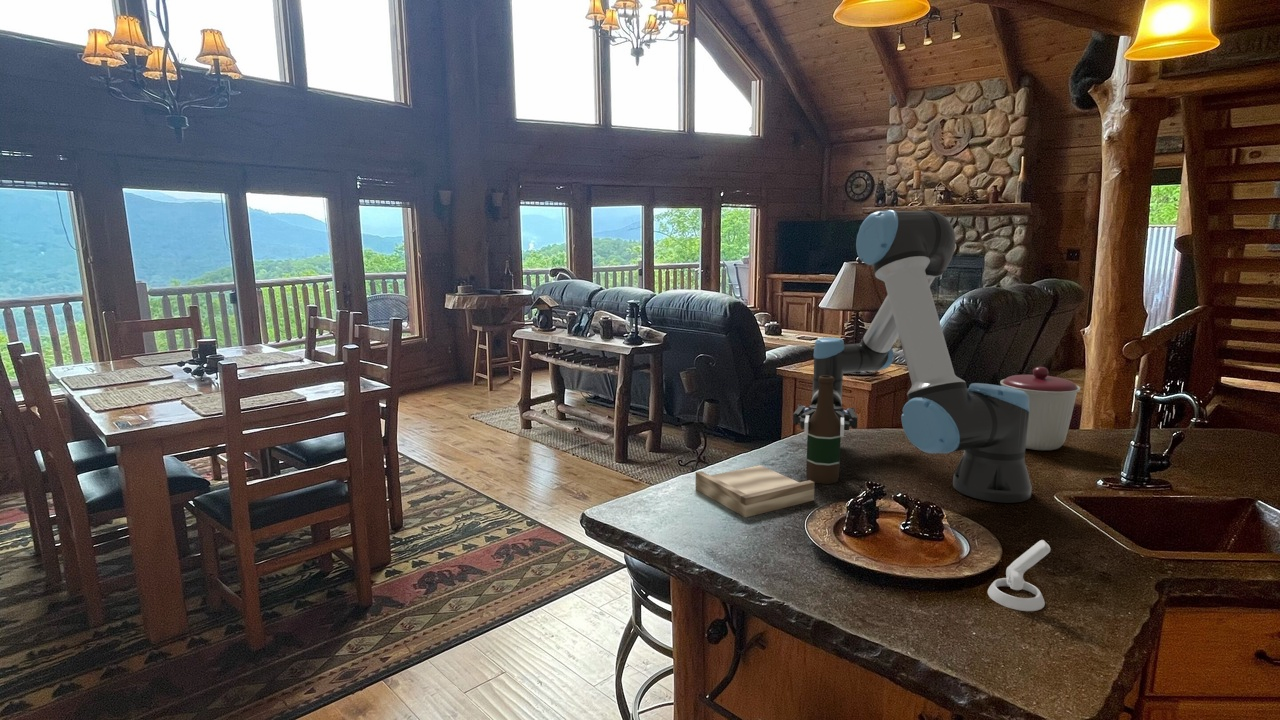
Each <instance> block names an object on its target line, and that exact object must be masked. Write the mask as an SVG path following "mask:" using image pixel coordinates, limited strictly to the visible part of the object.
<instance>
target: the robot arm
mask: <svg viewBox="0 0 1280 720" xmlns="http://www.w3.org/2000/svg"><path fill="white" fill-rule="evenodd" d="M855 240H856V243H855V248H856V253H857V257H858V258H859V260H860V261H861V262H862V263H864V264H866V265H868V266H872V269H873V273H874V276H875V279H878V280H880V281H882V282H883V283H884V286H885V289H886V293H887V295H886V297H885V298H884V301H883V302H882V304H881V306H880V308H879V309H878V311H877V312H876V314H875V316H874V318H873V320H872V321H871V324H869V327H868V328H867V330H866V331H865V334H864V335H863V337H862V338H861V340H860V342H859V343H847V344H845V342H844V339H843V338H838V337H819V338H818V339H816V340H815V343H814V347H813V377H812V395H811V397H812V398H811V402H810V405H809V406H808V407H806V406H805V405H802V404H797V405H796V406H797V408H796V410H795V411H794V412H793V416H792V425H796V426H797V425H799V427H800V429H801V430H803V434H804V435H806V436H807V435H808V427H809V422H810V419H811V416H812V415H813V414H814V412H815V411H816V408H817V401H818V391H819V382H818V379H819V376H823V375H827V376H832V377H834V383H833V405H834V411H835V413H836V415H837V416H838V418H839V421H840V437H841V438H844V437H845V436H844V435H845V431H849V430H850V428H851V429H854V430H855V429H858V419H859V418H858V416H857V413H856V408H855V407H849V408H846V410H845V409H844V408H843V403H842V401H843V381H844V380H843V379H844V374H846V373H859V372H876V371H880V370H885V369H887V368H890V366H892V364H893V361H894V360H893V358H894V350H893V348H892V347H893V346H894V344H895V342H896V341H897V339H898V338H899V341H900V344H901V345H900V346H901V348H902V352H903V355H904V356H903V357H904V359H905V363H906V366H907V371H908V375H909V378H910V382H911V387H910V388H909V390H908V391H907V393H906V396H907V400H908V401H907V402H906V403H905V404H904V406H903V407H902V414H901V418H900V419H901V424H902V429H903V431H904V433H905V436H906V438H907V439H908V440H909V442H910V443H911V444H912V445H913V446H914V447H916V448H918V450H920V451H921V452H924V453H926V454H944V455H945V454H948V453H953V452H954V453H955V452H958V451H960V452H961V451H963V453H962V456H961V458H960V460H959V462H958V465H957V467H956V470H955V472H954V474H953V477H952V478H953V479H952V486H953V489H955V490H956V491H957V492H959V493H960V494H962V495H965V496H967V497H970V498H973V499H977V500H981V501H986V502H991V503H992V502H993V503H1001V504H1002V503H1003V504H1009V503H1010V504H1011V503H1012V504H1013V503H1022V502H1026V501H1028V500H1030V499H1031V497H1032V483H1031V478H1030V476H1029V471H1028V468H1027V463H1026V460H1025V457H1026V456H1025V455H1026V439H1027V429H1028V419H1029V413H1030V409H1029V396H1028V395H1027V394H1026V393H1025V392H1024V391H1021V390H1018V389H1014V388H1009V387H1004V386H1002V385H999V384H998V385H997V384H992V383H990V384H989V383H981V382H973V383H970V384H969V386H967V383H966V382H967V381H965V380H964V379H962V378H960V377H958V376H957V375H956V374H955V370H954V367H953V364H952V360H951V356H950V353H949V350H948V347H947V346H948V345H947V343H946V342H947V341H946V339H945V335H944V332H943V328H942V325H941V321H940V318H939V315H938V311H937V308H936V305H935V301H934V300H935V299H934V298H933V294H932V290H931V285H932V283H933V282H934V280H935V279H936V278H938V277H941V276H942V275H943V274H944V272H945V271H946V269H948V267H949V265H950V263H951V261H952V258H953V256H954V253H955V249H956V241H957V240H956V234H955V230H954V227H953V225H952V223H951V222H950V221H949V220H948V218H947V217H946V216H944V215H943V214H941V213H939V212H937V211H934V210H895V209H894V210H893V209H887V210H878V211H875V212H872V213H870V214H869V215H868V216H867V217H866V218H865V219H864V220H863V221H862V223H861V224H860V226H859V230H858V232H857V235H856V239H855Z"/></svg>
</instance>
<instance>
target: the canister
mask: <svg viewBox="0 0 1280 720" xmlns="http://www.w3.org/2000/svg"><path fill="white" fill-rule="evenodd" d="M999 383H1000V386H1004V387H1009V388H1014V389H1018V390H1021V391H1024V392H1025V393H1026V394H1027V395H1028V396H1029V409H1030V413H1029V419H1028V429H1027V439H1026V449H1027V450H1031V451H1032V450H1033V451H1053V450H1054V451H1055V450H1059V449H1060V448H1061V447H1062V446H1063V445H1064V444H1065V442H1066V439H1067V436H1068V432H1069V429H1070V424H1071V420H1072V416H1073V411H1074V407H1075V403H1076V400H1077V394H1078V393H1079V392H1080V391H1081V389H1082V388H1081V386H1079V385H1078V384H1076V383H1075V382H1073V381H1071V380H1069V379H1066V378H1063V377H1058V376H1051V375H1049V370H1048V368H1047V367H1046V366H1045V367H1044V366H1035V368H1033V369H1032V374H1016V375H1015V374H1014V375H1010V376H1008V377H1006V378H1004V379H1001V380H1000V382H999ZM1026 449H1025V450H1026Z"/></svg>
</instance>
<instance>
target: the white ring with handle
mask: <svg viewBox="0 0 1280 720" xmlns="http://www.w3.org/2000/svg"><path fill="white" fill-rule="evenodd" d="M1051 550H1052V549H1051V547H1050V545H1049V544H1048V543H1047V542H1046V541H1045V540H1044V539H1041V540H1039V541H1037V542H1036V543H1034V545H1032V546H1031V547H1030V548H1029V549H1027V550H1026V551H1025V552H1023V553H1022V554H1021V555H1020V556H1019V557H1017V558H1016V559H1014V560H1013V561H1012V562H1011V563H1010V564H1009V565H1008V566H1007V567H1006V570H1005V575H1006V576H1005V577H1002V578H997V579H995V580H994V581H993V582H991V584H990V585H989V587H988V589H987V595H988V597H989V598H990V599H991V600H992V601H994V602H995V603H997V604H998V605H1001V606H1004V607H1005V608H1008V609H1011V610H1012V609H1013V610H1015V611H1023V612H1035V611H1039V610H1042V609H1043V608H1044V607H1045V604H1046V602H1045V599H1044V596H1043V594H1042V592H1041V591H1040V588H1038V587H1037V586H1036V585H1033V584H1032V583H1030V582H1027V581H1025V579H1024V574H1025V573H1026V572H1027V571H1028V570H1029V569H1030V568H1032V567H1034V566H1035V565H1036V564H1037V563H1038V562H1040V561H1041V560H1042V559H1044V558H1045V557H1046V556H1048V554H1049V553H1051ZM999 587H1010V589H1012V590H1014V591H1020V590H1024V591H1027V592H1029V593H1030V594H1033V595H1035V596H1033V597H1018V596H1014V595H1010V594H1008V593H1006V592H1003V591H1001V590H1000V589H999Z"/></svg>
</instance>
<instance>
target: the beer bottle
mask: <svg viewBox="0 0 1280 720" xmlns="http://www.w3.org/2000/svg"><path fill="white" fill-rule="evenodd" d="M818 382H819V391H818V401H817V408H816V411H815V412H814V414H813V415H812V416H811V419H810V422H809V427H808V435H807V434H806V436H807V438H806V439H807V441H806V442H807V443H806V466H805V467H806V468H805V470H806V471H805V472H806V476H805V477H806V479H807V481H808V480H810V481H813V482H815V484H822V485H830V484H831V485H832V484H834V483H838V482H839V479H840V478H839V477H840V476H839V475H840V462H841V458H840V457H841V438H842V437H840V421H839V418H838V416H837V415H836V413H835V411H834V405H833V383H834V377H832V376H827V375H823V376H819V379H818Z"/></svg>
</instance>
